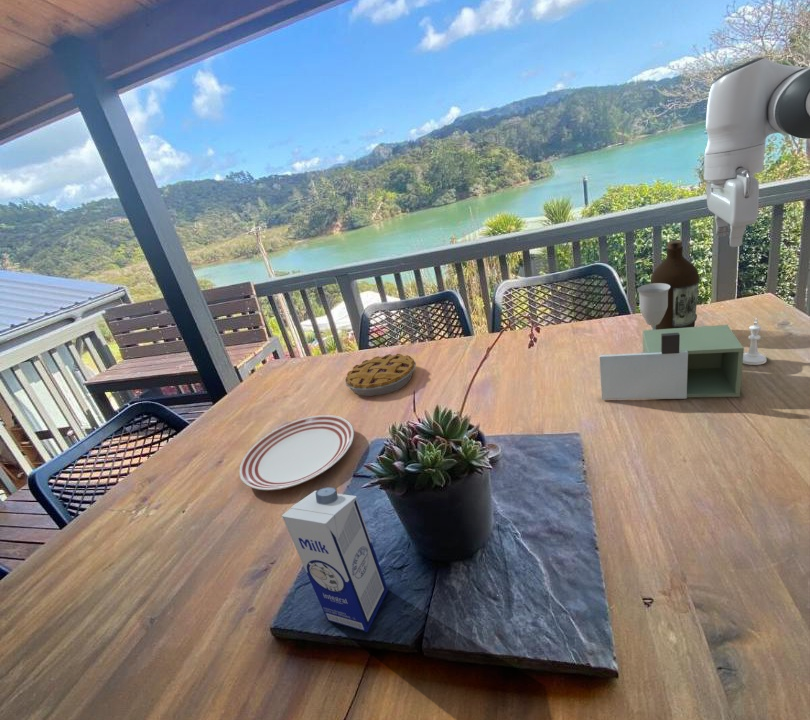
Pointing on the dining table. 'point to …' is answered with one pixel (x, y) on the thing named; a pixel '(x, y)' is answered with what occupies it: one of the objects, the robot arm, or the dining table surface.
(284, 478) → the dinner plate
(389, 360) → the pie
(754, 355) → the chess piece
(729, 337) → the cabinet
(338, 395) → the dining table surface
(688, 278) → the dark brown necked cylinder
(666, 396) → the sliding door
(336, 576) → the milk carton
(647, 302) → the chalice
